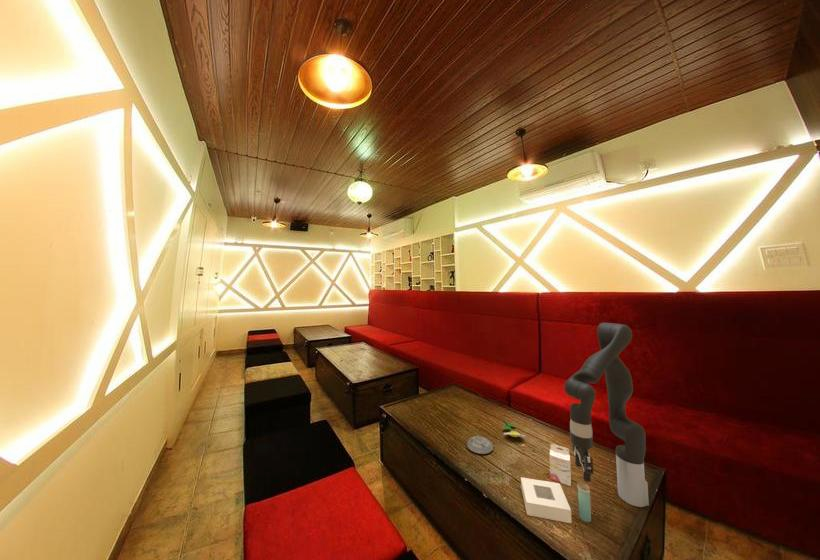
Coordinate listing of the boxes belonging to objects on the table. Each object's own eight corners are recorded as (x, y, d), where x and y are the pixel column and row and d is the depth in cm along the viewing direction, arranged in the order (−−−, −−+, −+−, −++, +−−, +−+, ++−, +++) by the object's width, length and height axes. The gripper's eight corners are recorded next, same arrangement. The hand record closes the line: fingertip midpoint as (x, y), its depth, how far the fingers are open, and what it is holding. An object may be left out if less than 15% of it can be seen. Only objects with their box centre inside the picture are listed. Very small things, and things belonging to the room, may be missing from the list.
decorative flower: (495, 423, 177) (506, 442, 148) (494, 415, 178) (506, 433, 149) (513, 424, 176) (528, 445, 146) (513, 417, 176) (528, 436, 147)
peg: (588, 514, 102) (587, 483, 103) (593, 523, 98) (591, 491, 99) (577, 512, 103) (575, 481, 104) (581, 521, 99) (579, 489, 100)
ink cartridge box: (550, 479, 121) (548, 448, 121) (550, 473, 125) (549, 442, 126) (571, 486, 116) (569, 453, 117) (571, 479, 121) (569, 448, 121)
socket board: (560, 495, 112) (559, 483, 112) (571, 523, 98) (571, 509, 99) (521, 488, 116) (520, 477, 116) (526, 515, 102) (526, 501, 103)
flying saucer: (495, 457, 138) (494, 447, 138) (466, 454, 141) (466, 444, 141) (491, 441, 152) (491, 432, 153) (466, 439, 155) (466, 430, 156)
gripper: (600, 443, 94) (602, 488, 94) (584, 424, 108) (586, 463, 107) (577, 440, 96) (578, 484, 95) (564, 421, 110) (566, 460, 109)
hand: (582, 473), depth 101 cm, fingers open, 8 cm apart
